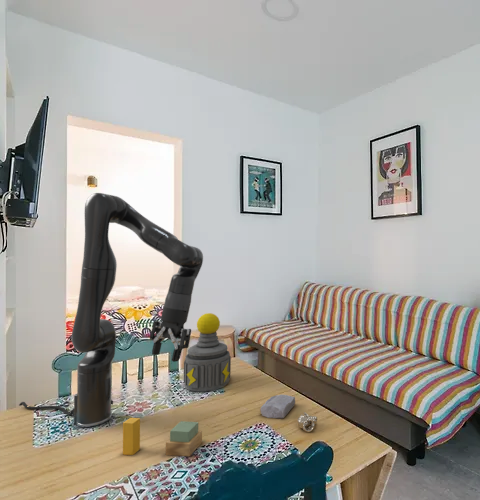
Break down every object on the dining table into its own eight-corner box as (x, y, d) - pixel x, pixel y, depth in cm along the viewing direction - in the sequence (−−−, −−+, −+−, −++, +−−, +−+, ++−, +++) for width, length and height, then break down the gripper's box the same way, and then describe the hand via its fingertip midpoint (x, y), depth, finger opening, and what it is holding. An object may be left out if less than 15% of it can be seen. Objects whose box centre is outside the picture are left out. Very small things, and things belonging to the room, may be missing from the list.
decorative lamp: (239, 378, 154) (241, 311, 154) (210, 395, 137) (211, 319, 136) (204, 373, 160) (205, 308, 160) (172, 388, 142) (173, 315, 142)
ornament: (322, 429, 113) (322, 418, 113) (302, 435, 110) (302, 423, 110) (312, 418, 120) (312, 408, 120) (293, 423, 117) (293, 412, 117)
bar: (122, 454, 98) (122, 422, 98) (130, 448, 101) (130, 417, 101) (132, 455, 98) (133, 423, 98) (140, 449, 101) (140, 418, 101)
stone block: (258, 421, 121) (285, 419, 119) (256, 407, 121) (283, 404, 119) (273, 407, 132) (297, 404, 130) (271, 394, 133) (295, 392, 131)
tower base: (165, 455, 98) (165, 442, 98) (179, 441, 105) (179, 429, 105) (189, 456, 98) (189, 444, 98) (202, 442, 105) (202, 430, 105)
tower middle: (169, 441, 99) (169, 430, 99) (180, 431, 104) (180, 421, 104) (188, 442, 98) (188, 431, 98) (198, 432, 104) (198, 422, 104)
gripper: (151, 302, 111) (138, 353, 109) (184, 310, 106) (171, 365, 104) (170, 303, 118) (159, 351, 116) (202, 311, 113) (191, 361, 111)
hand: (165, 357), depth 110 cm, fingers open, 8 cm apart
